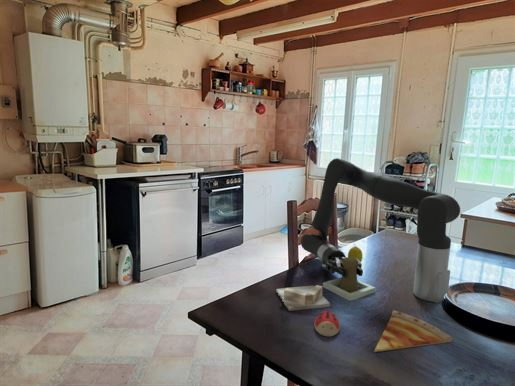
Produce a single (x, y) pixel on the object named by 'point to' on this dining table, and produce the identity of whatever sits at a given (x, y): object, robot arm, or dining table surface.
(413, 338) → the pizza slice
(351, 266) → the olive tall tapered post
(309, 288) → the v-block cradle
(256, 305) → the dining table surface
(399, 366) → the dining table surface
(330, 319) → the ladybug figurine
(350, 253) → the lemon
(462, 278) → the dining table surface
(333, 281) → the block
